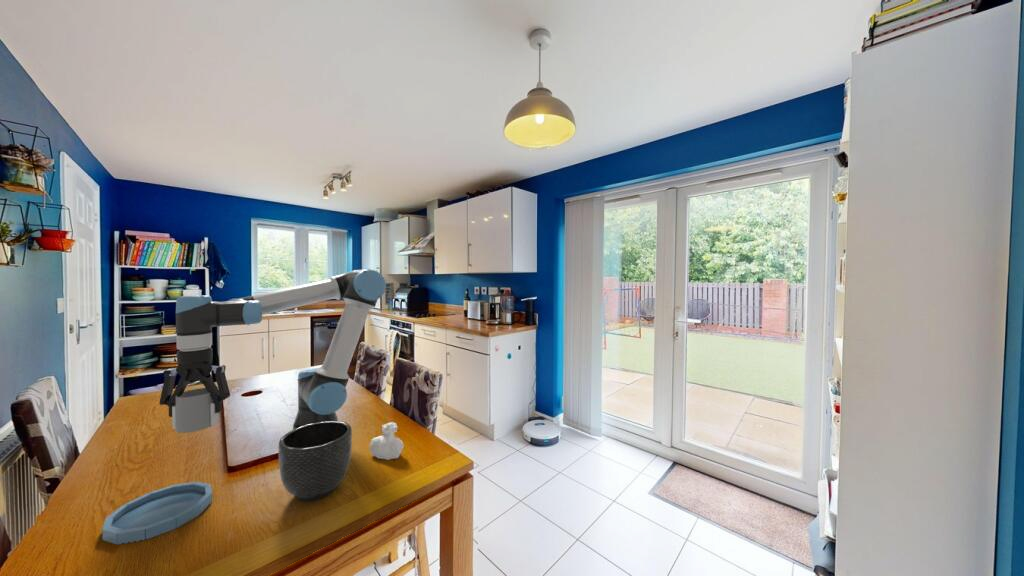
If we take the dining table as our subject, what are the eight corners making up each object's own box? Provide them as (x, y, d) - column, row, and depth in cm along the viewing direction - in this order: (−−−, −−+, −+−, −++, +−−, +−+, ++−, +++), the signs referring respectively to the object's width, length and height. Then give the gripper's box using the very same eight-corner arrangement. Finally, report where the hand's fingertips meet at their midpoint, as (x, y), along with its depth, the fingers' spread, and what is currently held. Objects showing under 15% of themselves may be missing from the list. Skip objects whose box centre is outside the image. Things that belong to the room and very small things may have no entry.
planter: (299, 523, 78) (298, 456, 78) (266, 497, 88) (266, 438, 87) (364, 485, 93) (364, 429, 93) (330, 466, 102) (330, 415, 102)
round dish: (226, 486, 92) (226, 477, 92) (181, 533, 75) (181, 523, 75) (144, 497, 87) (144, 488, 87) (77, 551, 70) (76, 540, 70)
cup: (191, 434, 92) (190, 398, 91) (168, 431, 93) (167, 396, 93) (223, 421, 100) (222, 388, 100) (201, 419, 101) (201, 386, 101)
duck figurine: (404, 463, 108) (415, 427, 115) (393, 459, 102) (405, 421, 109) (372, 459, 111) (384, 424, 117) (360, 454, 105) (373, 418, 111)
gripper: (244, 344, 102) (245, 416, 103) (159, 347, 97) (161, 424, 97) (231, 349, 95) (232, 426, 96) (138, 353, 89) (140, 435, 90)
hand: (196, 425), depth 96 cm, fingers closed on cup, 8 cm apart
